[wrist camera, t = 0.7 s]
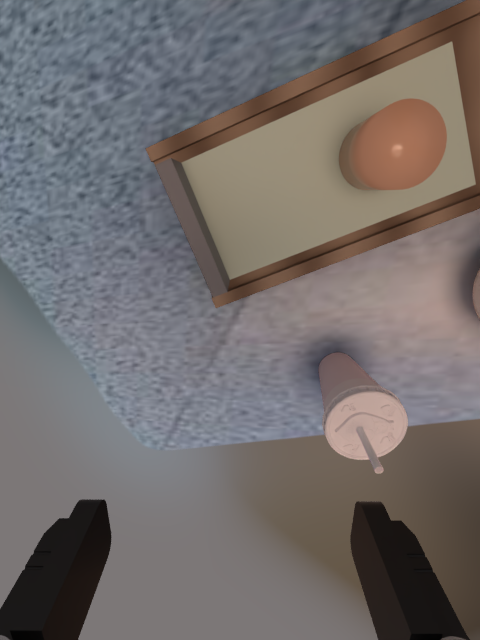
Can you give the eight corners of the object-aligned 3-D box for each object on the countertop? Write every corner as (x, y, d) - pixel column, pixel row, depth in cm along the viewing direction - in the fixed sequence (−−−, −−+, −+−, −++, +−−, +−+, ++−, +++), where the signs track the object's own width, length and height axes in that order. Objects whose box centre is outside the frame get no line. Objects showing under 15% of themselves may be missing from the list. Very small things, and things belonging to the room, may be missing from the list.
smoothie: (302, 344, 35) (335, 433, 22) (367, 336, 35) (441, 422, 22) (307, 399, 37) (340, 510, 24) (368, 392, 37) (436, 502, 24)
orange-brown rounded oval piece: (396, 107, 26) (437, 83, 20) (411, 175, 27) (453, 170, 22) (330, 135, 27) (353, 119, 21) (348, 200, 28) (374, 202, 23)
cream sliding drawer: (446, 45, 25) (489, 13, 21) (469, 184, 28) (511, 183, 24) (169, 169, 28) (154, 165, 24) (217, 282, 31) (213, 297, 27)
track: (585, -47, 25) (617, -70, 23) (597, 156, 29) (625, 153, 27) (153, 151, 30) (145, 148, 27) (217, 300, 34) (216, 308, 32)
